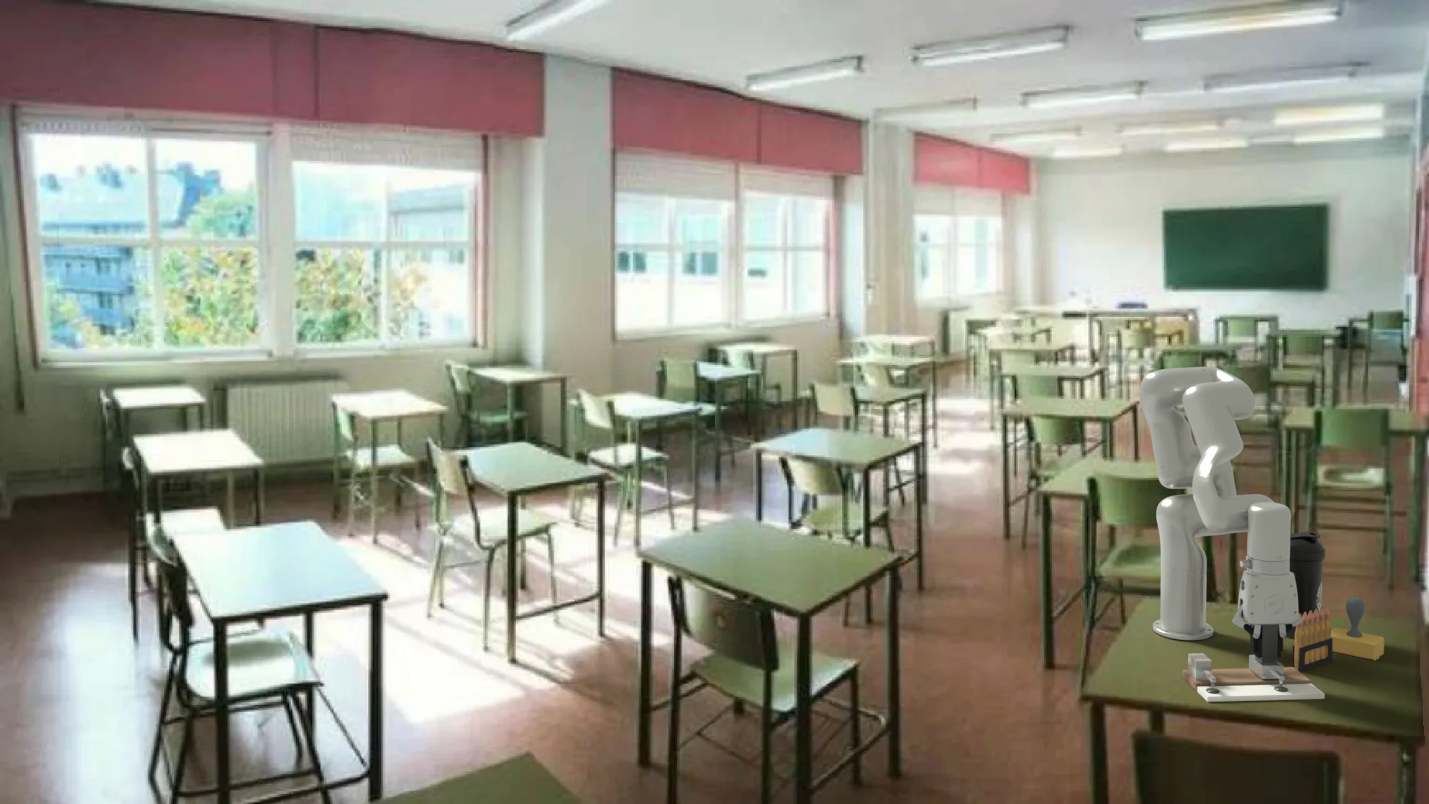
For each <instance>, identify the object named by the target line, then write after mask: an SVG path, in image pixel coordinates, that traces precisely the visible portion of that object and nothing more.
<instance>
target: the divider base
mask: <svg viewBox="0 0 1429 804" xmlns="http://www.w3.org/2000/svg"><path fill="white" fill-rule="evenodd" d="M1187 656H1188V657H1187V666H1188V667H1187V669H1183V670H1182V678H1183V679H1184V680H1185V681H1186V682H1187V683H1188V684H1189V685H1190V686H1191V687H1192V688H1193V689H1194V690H1195V691H1196V692H1197V687H1205V686H1211V687H1212V688H1214V687H1215V686H1243V685H1279V681H1280V680H1279V679H1262V678H1260V677H1259V676H1258V675H1257V674H1256V673H1255V672H1253V671H1252V670H1251V669H1250V668H1249V667H1245V668H1213V669H1212V660H1211V659H1210V657H1208V656H1207V655H1206V654H1205V653H1203V652H1202V653H1201V652H1200V653H1198V652H1197V653H1188V654H1187ZM1283 675H1284V676H1285V680H1283V684H1311V679H1309V678H1308V677H1307V676H1305V675H1304V674H1303V673H1302V672H1299V671H1298V670H1296V669H1295V668H1294V667H1292V666H1287V667H1286V666H1283Z"/></svg>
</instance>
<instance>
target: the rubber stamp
mask: <svg viewBox="0 0 1429 804" xmlns="http://www.w3.org/2000/svg"><path fill="white" fill-rule="evenodd" d="M1365 607H1366V606H1365V603H1364V600H1362V599H1361V598H1359V597H1357V596H1352V597H1350V598H1349V599H1347V601H1346V603H1345V611H1346V613H1347V616H1348V617H1347V618H1349V622H1350V627H1351V628H1350V629H1345V628H1339V627H1331V638H1333V653H1337V654H1343V655H1347V656H1352V657H1355V658H1361V659H1365V658H1366V659H1365V660H1370V659H1372V660H1371V661H1377V660H1378V659H1380V657H1379V656H1381V655H1382V656H1383V655H1384V654H1385V637H1383V636H1380V635H1375V634H1370V633H1365V632H1360V631H1359V624H1360V622H1361V620H1362V619H1363V618H1362V617H1363V616H1364V613H1365V609H1366V608H1365ZM1382 656H1381V657H1382ZM1376 659H1377V660H1376Z"/></svg>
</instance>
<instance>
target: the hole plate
mask: <svg viewBox="0 0 1429 804" xmlns="http://www.w3.org/2000/svg"><path fill="white" fill-rule="evenodd" d="M1196 692H1197V693H1198V694H1199V695H1200V696H1201V697H1202V698H1203V699H1204V700H1205V701H1206V702H1207V703H1209V702H1210V703H1211V702H1212V703H1213V702H1214V703H1215V702H1247V701H1248V702H1251V701H1252V702H1253V701H1257V702H1258V701H1284V700H1285V701H1286V700H1287V701H1290V700H1322V699H1323V700H1324V699H1325V697H1326V696H1325V693H1324V692H1323V691H1322V690H1321V689H1320V688H1318V687H1316V686H1315V685H1314V684H1313V683H1310V684H1283V686H1280V685H1243V686H1215V687H1214V688H1212V687H1211V686H1205V687H1197V691H1196Z"/></svg>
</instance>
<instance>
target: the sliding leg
mask: <svg viewBox="0 0 1429 804" xmlns="http://www.w3.org/2000/svg"><path fill="white" fill-rule="evenodd" d="M1260 638H1261V639H1262V657H1261V658H1258V657H1256V656H1255V655H1254V654H1249V655H1248V668H1250V669H1251V670H1252V671H1253V672H1255V673H1256V674H1257V675H1258V676H1259V677H1260V678H1262V679H1279V680H1280V681H1279V685H1280V686H1283V680H1285V676H1284V675H1283V667H1284V664H1283V663H1281V662H1280V661H1278V657H1277V652H1278V624H1274V625H1261V629H1260Z"/></svg>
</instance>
